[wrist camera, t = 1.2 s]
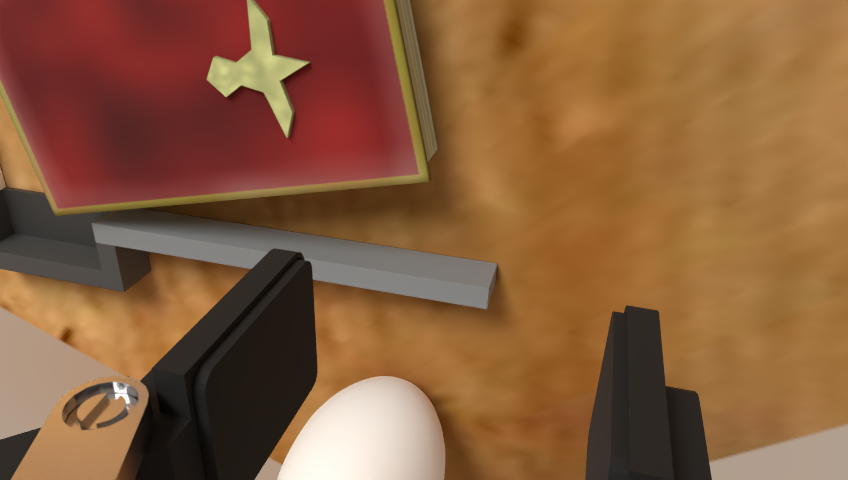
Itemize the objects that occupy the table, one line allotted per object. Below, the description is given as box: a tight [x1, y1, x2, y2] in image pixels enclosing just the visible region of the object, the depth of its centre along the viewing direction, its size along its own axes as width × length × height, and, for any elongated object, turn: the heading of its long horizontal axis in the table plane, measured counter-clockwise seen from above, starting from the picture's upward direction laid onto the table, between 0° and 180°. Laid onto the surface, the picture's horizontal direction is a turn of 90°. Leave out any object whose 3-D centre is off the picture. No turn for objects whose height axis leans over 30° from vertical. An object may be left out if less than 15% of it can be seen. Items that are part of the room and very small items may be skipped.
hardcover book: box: [0, 0, 438, 216], centre depth 31 cm, size 12×21×4 cm, turn 101°
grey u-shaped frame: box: [0, 167, 497, 309], centre depth 32 cm, size 31×26×2 cm
